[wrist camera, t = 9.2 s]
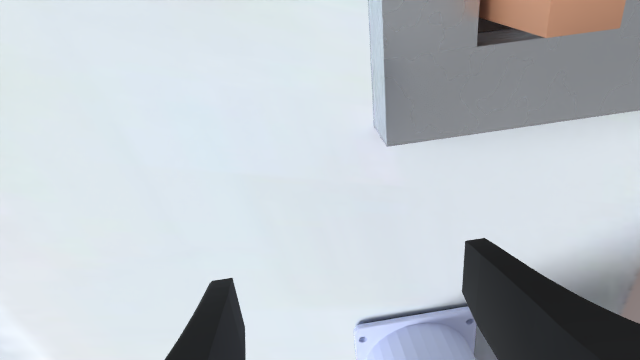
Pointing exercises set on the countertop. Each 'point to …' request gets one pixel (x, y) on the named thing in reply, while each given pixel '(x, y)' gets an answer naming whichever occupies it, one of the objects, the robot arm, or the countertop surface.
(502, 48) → the grey square base
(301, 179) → the countertop surface
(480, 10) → the pin
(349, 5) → the countertop surface
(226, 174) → the countertop surface
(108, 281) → the countertop surface
